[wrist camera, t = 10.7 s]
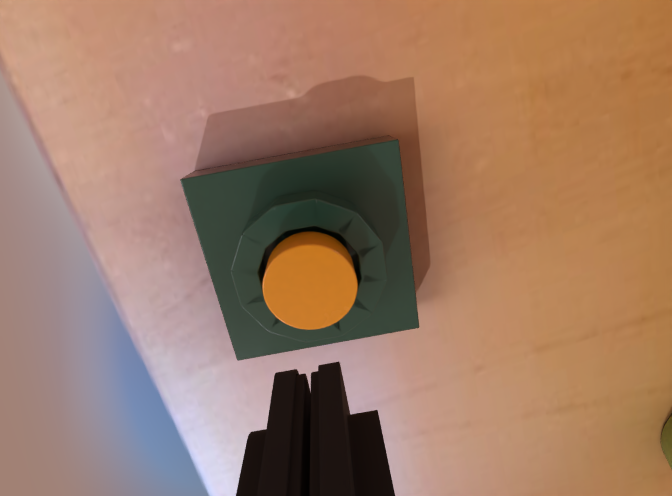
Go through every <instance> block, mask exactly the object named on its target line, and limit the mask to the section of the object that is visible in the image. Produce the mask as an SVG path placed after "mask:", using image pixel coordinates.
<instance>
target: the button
mask: <svg viewBox="0 0 672 496" xmlns="http://www.w3.org/2000/svg"><path fill="white" fill-rule="evenodd" d="M262 290H263V296H264V299H265V302H266V304H267V306H268V308H269V309H270V311H271V312H272V313H273V314H274V315H275V316H276V317H277V318H278V319H279V320H281V321H282V322H284V323H285V324H287V325H289V326H292V327H295V328H299V329H306V330H313V329H320V328H325V327H327V326H330V325H332V324H334V323H336V322H337V321H339V320H340V319H342V318H343V317H344V316H345V315H346V314H347V313H348V312H349V310H350V309H351V307H352V306H353V304H354V302H355V299H356V296H357V290H358V283H357V277H356V273H355V269H354V265H353V261H352V258H351V256H350V254H349V252H348V250H347V249H346V248H345V247H344V245H343V244H342V243H340V242H339V241H338V240H337V239H335V238H333V237H332V236H329V235H327V234H324V233H320V232H314V231H307V232H300V233H296V234H294V235H291V236H289V237H287V238H285V239H284V240H283V241H281V242H280V243H279V244H278V245H277V246H276V247H275V248H274V250H273V251H272V253H271V255H270V257H269V259H268V263H267V266H266V270H265V274H264V278H263V284H262Z"/></svg>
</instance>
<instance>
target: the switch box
mask: <svg viewBox="0 0 672 496" xmlns="http://www.w3.org/2000/svg"><path fill="white" fill-rule="evenodd" d="M180 181H181V184H182V187H183V190H184V193H185V196H186V200H187V203H188V206H189V209H190V212H191V215H192V219H193V222H194V225H195V228H196V231H197V234H198V238H199V241H200V244H201V247H202V250H203V253H204V257H205V260H206V263H207V266H208V269H209V272H210V275H211V279H212V282H213V285H214V288H215V291H216V294H217V298H218V301H219V304H220V307H221V310H222V313H223V317H224V320H225V323H226V326H227V329H228V332H229V335H230V339H231V342H232V345H233V348H234V351H235V354H236V358H237V360H244V359H249V358H255V357H260V356H266V355H271V354H277V353H282V352H288V351H293V350H299V349H304V348H310V347H315V346H321V345H326V344H332V343H338V342H343V341H349V340H354V339H360V338H365V337H371V336H376V335H382V334H387V333H393V332H398V331H404V330H409V329H415V328H419V320H418V311H417V302H416V293H415V284H414V275H413V266H412V257H411V248H410V239H409V229H408V220H407V211H406V202H405V193H404V184H403V175H402V166H401V157H400V148H399V140H398V139H396V138H394V137H391V136H389V135H388V136H383V137H378V138H372V139H367V140H361V141H356V142H350V143H345V144H339V145H334V146H328V147H323V148H318V149H312V150H307V151H301V152H296V153H290V154H285V155H279V156H274V157H268V158H263V159H258V160H252V161H247V162H241V163H236V164H230V165H225V166H219V167H214V168H209V169H203V170H198V171H194V172H192V173H190V174H189V175H187V176H185V177H184V178H182V179H181V180H180ZM307 231H314V232H320V233H324V234H327V235H329V236H332V237H333V238H335V239H337V240H338V241H339V242H340V243H342V244H343V245H344V247H345V248H346V249H347V250H348V252H349V254H350V256H351V258H352V261H353V265H354V269H355V273H356V277H357V283H358V290H357V296H356V299H355V302H354V304H353V306H352V307H351V309H350V310H349V312H348V313H347V314H346V315H345V316H344V317H343V318H342V319H340V320H339V321H337V322H336V323H334V324H332V325H330V326H327V327H325V328H320V329H313V330H306V329H299V328H295V327H292V326H289V325H287V324H285V323H284V322H282V321H281V320H279V319H278V318H277V317H276V316H275V315H274V314H273V313H272V312H271V311H270V309H269V308H268V306H267V304H266V302H265V299H264V296H263V290H262V284H263V278H264V274H265V270H266V266H267V263H268V259H269V257H270V255H271V253H272V251H273V250H274V248H275V247H276V246H277V245H278V244H279V243H280V242H281V241H283V240H284V239H285V238H287V237H289V236H291V235H294V234H296V233H300V232H307Z"/></svg>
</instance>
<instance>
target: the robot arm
mask: <svg viewBox="0 0 672 496" xmlns="http://www.w3.org/2000/svg"><path fill="white" fill-rule="evenodd" d="M236 496H395V493H394V488H393V484H392V479H391V474H390V469H389V464H388V459H387V454H386V449H385V444H384V440H383V435H382V430H381V425H380V420H379V415H378V411H377V410H375V411H369V412H363V413H357V414H352V415H350V411H349V406H348V401H347V396H346V391H345V386H344V381H343V376H342V372H341V367H340V363H339V362H335V363H329V364H323V365H319V367H318V371H317V372H312V373H311V392H310V388H309V384H308V380H307V376H306V374H300V375H299V373H298V371H297V370H296V369H295V370H289V371H284V372H278V373H275V376H274V383H273V390H272V396H271V403H270V410H269V417H268V423H267V429H266V430H260V431H254V432H251V433H250V434H249V436H248V439H247V444H246V449H245V454H244V459H243V464H242V469H241V474H240V478H239V483H238V488H237V493H236Z"/></svg>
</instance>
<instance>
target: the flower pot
mask: <svg viewBox="0 0 672 496" xmlns="http://www.w3.org/2000/svg"><path fill="white" fill-rule="evenodd" d="M661 447H662V450H663V452H664V454H665V456H666V459H667V461H668V463H669V465H670V467H671V469H672V415H671V416H670V418H669V420H668V421H667V423H666V424H665V426H664V429H663V431H662V436H661Z"/></svg>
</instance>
